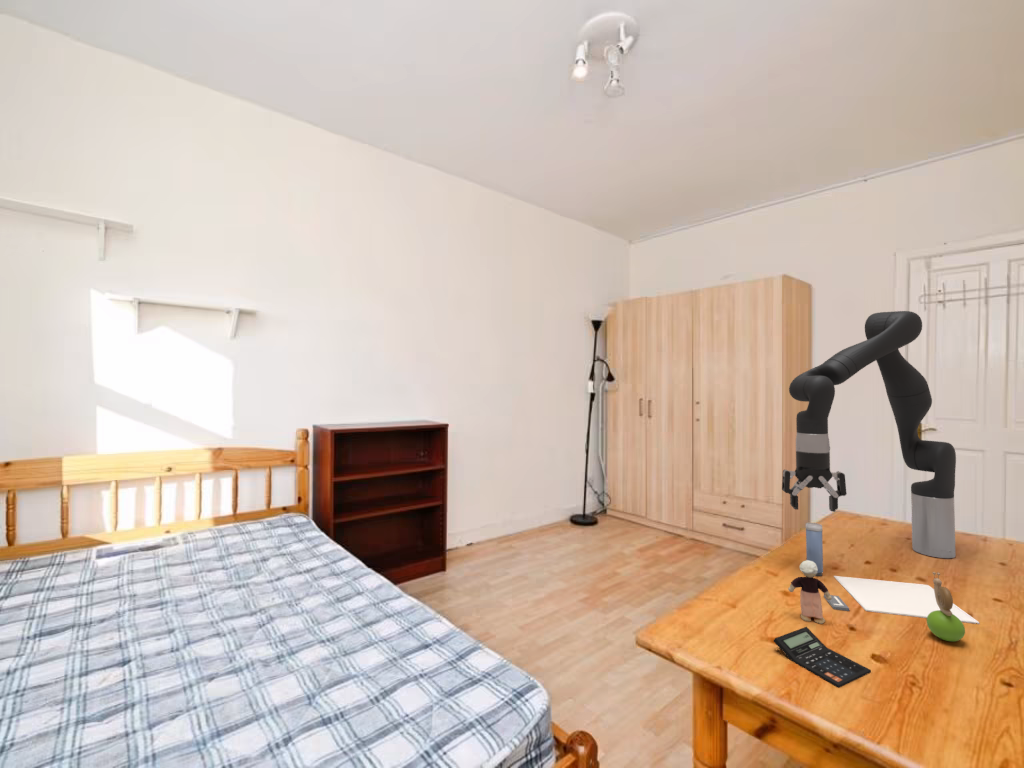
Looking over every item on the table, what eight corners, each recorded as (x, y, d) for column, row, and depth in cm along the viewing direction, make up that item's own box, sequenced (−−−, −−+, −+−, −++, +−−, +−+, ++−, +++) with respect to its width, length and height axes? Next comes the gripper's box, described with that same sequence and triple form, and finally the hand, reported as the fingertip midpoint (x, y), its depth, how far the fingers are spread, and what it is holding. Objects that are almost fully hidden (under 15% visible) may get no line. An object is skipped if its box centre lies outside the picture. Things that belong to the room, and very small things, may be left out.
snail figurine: (954, 632, 89) (953, 573, 89) (971, 650, 83) (969, 587, 83) (920, 626, 91) (918, 569, 91) (934, 643, 86) (932, 582, 86)
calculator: (838, 690, 74) (838, 672, 74) (773, 652, 84) (773, 637, 84) (870, 674, 78) (870, 657, 78) (804, 640, 88) (804, 625, 88)
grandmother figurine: (827, 617, 96) (826, 559, 96) (833, 626, 92) (832, 566, 92) (787, 611, 98) (785, 555, 98) (791, 620, 95) (790, 562, 95)
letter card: (823, 596, 105) (823, 593, 105) (838, 598, 104) (838, 595, 104) (833, 609, 99) (833, 606, 99) (849, 611, 98) (849, 607, 98)
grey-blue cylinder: (804, 570, 120) (803, 522, 120) (820, 571, 118) (819, 523, 119) (809, 575, 116) (808, 526, 116) (825, 577, 115) (824, 527, 115)
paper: (833, 576, 115) (833, 575, 115) (927, 586, 109) (927, 584, 109) (865, 610, 98) (865, 609, 98) (979, 624, 92) (979, 622, 92)
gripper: (837, 448, 119) (839, 508, 119) (778, 447, 123) (779, 504, 123) (849, 452, 112) (851, 515, 112) (786, 450, 116) (787, 511, 116)
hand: (813, 509), depth 117 cm, fingers open, 8 cm apart
